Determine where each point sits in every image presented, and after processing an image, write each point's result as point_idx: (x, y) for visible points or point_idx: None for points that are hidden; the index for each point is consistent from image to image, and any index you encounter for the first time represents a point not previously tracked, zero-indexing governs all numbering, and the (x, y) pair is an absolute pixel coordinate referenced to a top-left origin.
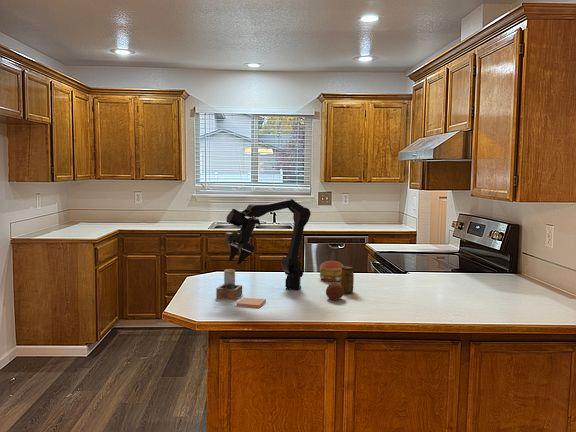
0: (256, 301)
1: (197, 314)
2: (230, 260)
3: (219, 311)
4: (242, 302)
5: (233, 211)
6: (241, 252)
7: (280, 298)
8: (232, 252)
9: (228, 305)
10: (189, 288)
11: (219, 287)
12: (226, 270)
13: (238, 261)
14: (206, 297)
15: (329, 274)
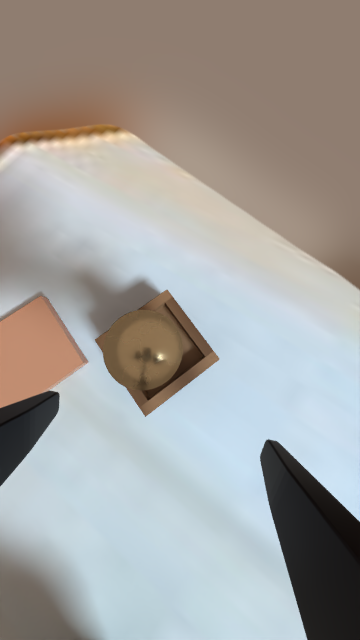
0: (8, 367)
1: (58, 172)
2: (264, 454)
3: (39, 229)
4: (34, 318)
5: None
6: None
7: (12, 502)
8: (358, 617)
9: (72, 284)
10: (346, 301)
11: (172, 307)
12: (151, 326)
13: (12, 409)
14: (200, 282)
15: None
